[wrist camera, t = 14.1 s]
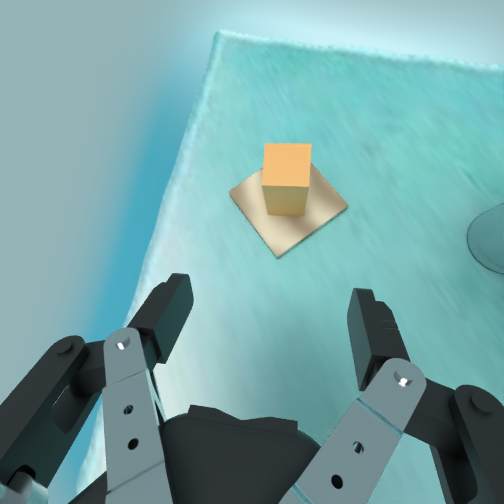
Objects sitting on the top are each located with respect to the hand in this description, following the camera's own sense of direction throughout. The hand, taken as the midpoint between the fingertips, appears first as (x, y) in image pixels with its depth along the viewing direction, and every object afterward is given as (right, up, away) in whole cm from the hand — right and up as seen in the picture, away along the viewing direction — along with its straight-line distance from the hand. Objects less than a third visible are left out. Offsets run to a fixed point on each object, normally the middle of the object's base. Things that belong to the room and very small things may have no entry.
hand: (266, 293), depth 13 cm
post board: (+5, +10, +29) cm, 31 cm away
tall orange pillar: (+5, +10, +28) cm, 30 cm away
